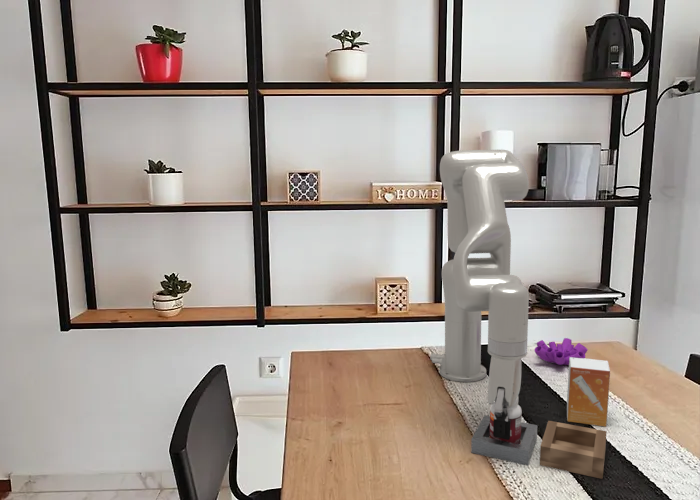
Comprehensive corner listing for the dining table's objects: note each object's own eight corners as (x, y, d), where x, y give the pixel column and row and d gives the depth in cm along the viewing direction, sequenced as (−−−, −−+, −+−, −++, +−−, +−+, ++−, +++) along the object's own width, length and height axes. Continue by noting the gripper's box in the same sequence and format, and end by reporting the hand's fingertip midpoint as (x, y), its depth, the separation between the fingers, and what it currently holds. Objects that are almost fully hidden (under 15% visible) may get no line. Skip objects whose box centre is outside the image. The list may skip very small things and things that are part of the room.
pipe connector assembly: (587, 375, 156) (600, 356, 149) (536, 379, 154) (547, 360, 147) (571, 341, 163) (583, 322, 156) (522, 344, 161) (532, 325, 154)
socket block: (471, 452, 111) (471, 438, 111) (484, 428, 121) (484, 415, 121) (528, 465, 107) (528, 450, 106) (536, 438, 116) (537, 425, 116)
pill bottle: (483, 446, 114) (484, 396, 112) (497, 434, 118) (498, 386, 116) (512, 457, 110) (514, 404, 108) (525, 444, 114) (527, 393, 112)
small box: (567, 422, 123) (569, 366, 120) (566, 409, 129) (568, 356, 126) (607, 427, 120) (610, 370, 118) (604, 414, 126) (608, 359, 124)
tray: (539, 465, 107) (540, 445, 106) (547, 438, 116) (548, 420, 115) (602, 478, 102) (603, 458, 101) (605, 449, 111) (606, 431, 111)
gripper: (497, 330, 119) (496, 408, 122) (477, 357, 104) (476, 446, 107) (534, 334, 116) (531, 415, 119) (518, 363, 101) (516, 454, 104)
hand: (505, 429), depth 113 cm, fingers closed on pill bottle, 6 cm apart
